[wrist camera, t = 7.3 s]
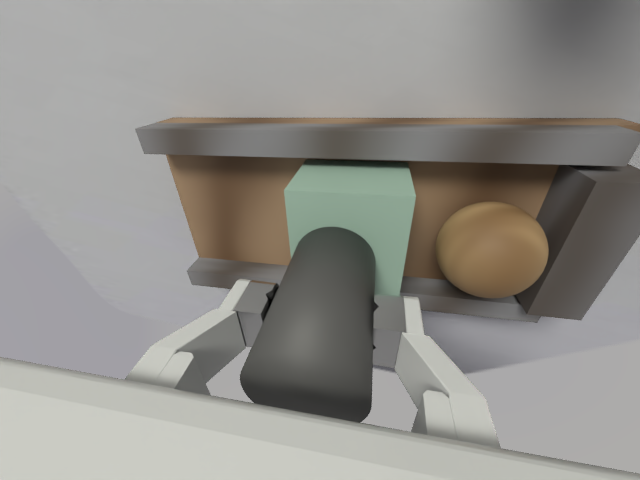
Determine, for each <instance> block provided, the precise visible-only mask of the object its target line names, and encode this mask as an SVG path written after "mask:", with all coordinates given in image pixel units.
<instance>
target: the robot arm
mask: <svg viewBox="0 0 640 480" xmlns="http://www.w3.org/2000/svg"><path fill="white" fill-rule="evenodd" d="M278 288H279V284H277V283H271V282H264V281H256V280H246V279H239V280H237V281H236V283H235V284H234V286H233V287H232V289H231V290H230V292H229V293H228V295H227V296H226V298H225V300H224V301H223V303H222V304H221V306H220V307H219V309H213V310H212V311H210V312H208V313H206V314H205V315H203V316H201V317H200V318H198V319H196V320H194V321H193V322H191V323H189V324H188V325H186V326H184V327H182V328H181V329H179V330H177V331H176V332H174V333H172V334H171V335H169V336H167V337H165V338H164V339H162V340H160V341H159V342H157V343H155V344H153V345H152V346H151V347H150V348H149V349H148V351H147V352H146V353H145V354H144V356H143V357H142V358H141V359H140V361H139V362H138V363H137V364H136V366H135V367H134V368H133V369H132V371H131V372H130V373H129V374H128V376H127V377H126V378H125V379H124V380H123V379H118V378H112V377H106V376H101V375H96V374H91V373H85V372H79V371H74V370H69V369H63V368H58V367H52V366H47V365H41V364H36V363H31V362H25V361H20V360H14V359H9V358H3V357H0V480H640V474H638V473H633V472H627V471H622V470H617V469H611V468H605V467H600V466H595V465H589V464H583V463H578V462H573V461H567V460H562V459H556V458H550V457H545V456H540V455H534V454H529V453H523V452H518V451H512V450H506V449H501V448H500V444H499V441H498V438H497V434H496V431H495V428H494V424H493V421H492V418H491V415H490V411H489V408H488V405H487V401H486V398H485V397H484V396H483V395H482V394H481V393H480V391H478V389H477V388H476V387H475V386H474V385H473V384H472V383H471V382H470V381H469V379H468V378H467V377H466V376H465V375H464V374H463V373H462V372H461V370H460V369H459V368H458V367H457V366H456V365H455V364H454V363H453V362H452V360H451V359H450V358H449V357H448V356H447V355H446V354H445V353H444V352H443V350H442V349H441V348H440V347H439V346H438V345H437V344H436V343H435V342H434V341H433V339H432V338H431V337H430V336H426V335H425V334H424V327H423V321H422V315H421V308H420V302H419V299H418V297H408V296H396V295H386V294H376V293H374V300H373V328H372V340H373V365H378V366H384V367H390V368H395V371H396V373H397V375H398V376H399V378H400V380H401V381H402V383H403V385H404V386H405V388H406V390H407V392H408V393H409V395H410V397H411V398H412V400H413V402H414V404H415V405H416V407H417V409H418V412H417V415H416V418H415V421H414V424H413V427H412V431H411V432H408V431H403V430H397V429H392V428H386V427H380V426H375V425H370V424H364V423H359V422H354V421H348V420H343V419H337V418H332V417H326V416H321V415H315V414H310V413H304V412H299V411H293V410H288V409H282V408H277V407H271V406H266V405H260V404H255V403H249V402H243V401H238V400H233V399H227V398H221V397H216V396H211V395H210V393H209V390H208V388H207V386H206V383H207V382H208V381H209V380H210V379H211V378H212V377H213V376H214V375H216V374H217V373H218V372H219V371H220V370H221V369H222V368H223V367H225V366H226V365H227V364H228V363H229V362H230V361H231V360H232V359H234V358H235V357H236V356H237V355H238V354H239V353H240V352H242V351H243V350H244V349H245V346H247V347H252V346H253V344H254V341H255V339H256V337H257V335H258V332H259V330H260V328H261V326H262V323H263V321H264V319H265V317H266V315H267V312H268V310H269V308H270V306H271V303H272V301H273V299H274V297H275V294H276V292H277V290H278Z"/></svg>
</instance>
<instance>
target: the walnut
mask: <svg viewBox="0 0 640 480" xmlns="http://www.w3.org/2000/svg"><path fill="white" fill-rule="evenodd" d="M548 252H549V249H548V242H547V238H546V235H545V233H544V231H543V229H542V227H541V226H540V224H539V223H538V222H537V221H536V220H535V219H534V218H533V217H532V216H531V215H530V214H528V213H527V212H526V211H524V210H522V209H520V208H518V207H516V206H514V205H511V204H507V203H503V202H495V201H493V202H479V203H475V204H471V205H468V206H466V207H464V208H462V209H460V210H458V211H457V212H455V213H454V214H453V215H452V216H450V217H449V218H448V220H447V221H446V222H445V223H444V224H443V226H442V227H441V229H440V231H439V234H438V236H437V240H436V258H437V262H438V264H439V267H440V269H441V271H442V272H443V274H444V275H445V277H446V278H447V279H448V280H449V281H450V282H451V283H452V284H453V285H454V286H456V287H457V288H459V289H460V290H462V291H464V292H466V293H468V294H471V295H474V296H477V297H483V298H504V297H509V296H512V295H515V294H518V293H520V292H522V291H524V290H526V289H527V288H529V287H530V286H531V285H532V284H533V283H534V282H535V281H536V280H537V279H538V278H539V277H540V276H541V274H542V272H543V271H544V269H545V266H546V264H547V260H548Z"/></svg>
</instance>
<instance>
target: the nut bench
mask: <svg viewBox="0 0 640 480" xmlns="http://www.w3.org/2000/svg"><path fill="white" fill-rule="evenodd" d="M135 130H136V132H137V135H138V138H139V141H140V143H141V146H142V149H143V152H144V154H166V156H167V160H168V163H169V166H170V169H171V172H172V175H173V178H174V181H175V184H176V187H177V190H178V193H179V197H180V200H181V203H182V206H183V209H184V212H185V215H186V218H187V221H188V224H189V227H190V231H191V234H192V237H193V240H194V243H195V246H196V249H197V252H198V255H199V258H198V259H197V260H196V261H195V262H194V264H193V265H192V266H191V267H190V268H189V269H188V270H187V272H188V275H189V278H190V281H191V283H192V285H200V286H209V287H218V288H227V289H232V287H233V286H234V284H235V283H236V281H237V280H239V279H246V280H256V281H264V282H271V283H277V284H279V285H280V283H281V281H282V279H283V276H284V274H285V272H286V270H287V267H288V265H289V263H290V261H291V254H290V244H289V235H288V225H287V216H286V206H285V196H284V189H285V188H286V187H287V185H288V184H289V182H290V181H291V180H292V178H293V177H294V176H295V174H296V173H297V171H298V170H299V169H300V167H301V166H302V165H303V163H304V162H305V160H306V159H307V160H344V161H382V162H408V166H409V170H410V174H411V178H412V182H413V186H414V190H415V194H416V200H415V206H414V212H413V218H412V223H411V229H410V235H409V241H408V247H407V253H406V259H405V265H404V271H403V277H402V283H401V289H400V295H399V296H408V297H418V299H419V302H420V308H421V310H426V311H435V312H444V313H454V314H463V315H472V316H481V317H490V318H499V319H508V320H517V321H526V322H535V323H537V322H538V320H539V318H540V317H541V316H546V317H555V318H564V319H574V320H582V318H583V317H584V315H585V314H586V312H587V311H588V309H589V308H590V306H591V305H592V304H593V302H594V301H595V299H596V298H597V296H598V295H599V293H600V292H601V291H602V289H603V288H604V286H605V285H606V283H607V282H608V280H609V279H610V277H611V276H612V275H613V273H614V272H615V270H616V269H617V267H618V266H619V264H620V263H621V262H622V260H623V259H624V257H625V256H626V254H627V253H628V251H629V250H630V248H631V247H632V246H633V244H634V243H635V241H636V240H637V238H638V237H639V235H640V169H638V168H635V167H633V166H631V165H629V164H628V162H629V161H630V159H631V157H632V155H633V154H634V152H635V150H636V148H637V147H638V145H639V143H640V124H638V123H634V122H631V121H627V120H623V119H616V118H170V119H167V120H164V121H160V122H157V123H154V124H150V125H147V126H143V127H140V128H137V129H135ZM493 201H495V202H503V203H507V204H511V205H514V206H516V207H518V208H520V209H522V210H524V211H526V212H527V213H528V214H530V215H531V216H532V217H533V218H534V219H535V220H536V221H537V222H538V223H539V224H540V226H541V227H542V229H543V231H544V233H545V235H546V238H547V242H548V249H549V252H548V260H547V264H546V266H545V269H544V271H543V272H542V274H541V276H540V277H539V278H538V279H537V280H536V281H535V282H534V283H533V284H532V285H531V286H530V287H529V288H527V289H526V290H524V291H522V292H520V293H518V294H515V295H512V296H509V297H504V298H483V297H477V296H474V295H471V294H468V293H466V292H464V291H462V290H460V289H459V288H457V287H456V286H454V285H453V284H452V283H451V282H450V281H449V280H448V279H447V278H446V277H445V275H444V274H443V272H442V271H441V269H440V267H439V264H438V262H437V258H436V240H437V236H438V234H439V231H440V229H441V227H442V226H443V224H444V223H445V222H446V221H447V220H448V218H449V217H450V216H452V215H453V214H454V213H455V212H457V211H458V210H460V209H462V208H464V207H466V206H468V205H471V204H475V203H479V202H493Z"/></svg>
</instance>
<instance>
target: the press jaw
mask: <svg viewBox="0 0 640 480" xmlns="http://www.w3.org/2000/svg"><path fill="white" fill-rule="evenodd" d="M284 196H285V206H286V216H287V225H288V235H289V244H290V254H291V261H290V263H289V265H288V267H287V270H286V272H285V274H284V276H283V279H282V281H281V283H280V285H279V288H278V290H277V292H276V294H275V297H274V299H273V301H272V303H271V306H270V308H269V310H268V312H267V315H266V317H265V319H264V321H263V323H262V326H261V328H260V330H259V332H258V335H257V337H256V339H255V341H254V344H253V346H252V348H251V350H250V353H249V355H248V357H247V359H246V362H245V364H244V366H243V368H242V371H241V374H240V381H241V385H242V388H243V390H244V392H245V393H246V395H247V396H248V397H249V398H250V399H251V400H252V401H253V402H254V403H255V404H260V405H266V406H271V407H277V408H282V409H288V410H293V411H299V412H304V413H310V414H315V415H321V416H326V417H332V418H337V419H343V420H348V421H354V422H359V423H360V422H361V421H363V420H364V419H365V418H366V417H367V416H368V414H369V413H370V410H371V402H372V368H373V340H372V328H373V300H374V293H376V294H386V295H396V296H399V295H400V289H401V283H402V277H403V271H404V265H405V259H406V253H407V247H408V241H409V235H410V229H411V223H412V218H413V212H414V206H415V200H416V194H415V190H414V186H413V182H412V178H411V174H410V170H409V166H408V162H382V161H344V160H307V159H306V160H305V162H304V163H303V165H302V166H301V167H300V169H299V170H298V171H297V173H296V174H295V176H294V177H293V178H292V180H291V181H290V182H289V184H288V185H287V187H286V188H285V189H284Z"/></svg>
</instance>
